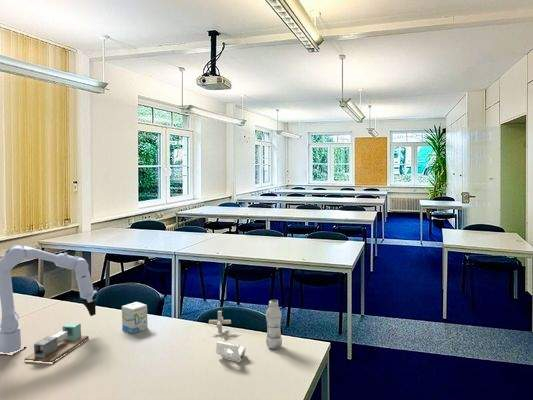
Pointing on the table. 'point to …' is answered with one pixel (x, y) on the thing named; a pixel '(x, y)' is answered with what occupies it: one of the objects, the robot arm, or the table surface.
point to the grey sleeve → (45, 347)
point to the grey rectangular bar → (58, 338)
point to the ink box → (134, 317)
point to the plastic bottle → (273, 325)
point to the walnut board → (60, 349)
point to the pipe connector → (219, 322)
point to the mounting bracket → (230, 350)
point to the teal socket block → (72, 330)
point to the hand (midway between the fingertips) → (91, 312)
